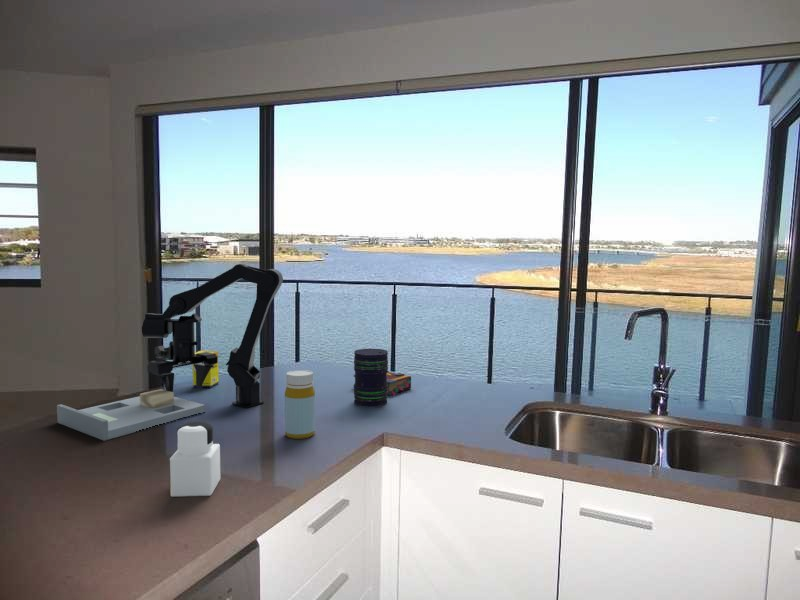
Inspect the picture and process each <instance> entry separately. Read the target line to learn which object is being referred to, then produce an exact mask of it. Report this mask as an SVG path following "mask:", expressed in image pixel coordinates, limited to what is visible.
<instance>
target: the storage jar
mask: <svg viewBox="0 0 800 600" xmlns="http://www.w3.org/2000/svg"><path fill="white" fill-rule="evenodd" d="M388 352H389V351H388V350H386V349H381V348H360V349H357V350H356V349H355V350H354V356H353V358H354V360H353V365H354V366H353V371H354V375H355V377H354V384H353V398H354V401H353V403H354V405H356V406H359V407H362V408H377V407H378V408H379V407H383V406H385V405H387V404H388V395H387V394H388V390H387V389H388V384H387V371H389V370H388V369H389V366H388V365H389V359H388V358H389V357H388V355H389V353H388Z"/></svg>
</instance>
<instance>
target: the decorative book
mask: <svg viewBox="0 0 800 600" xmlns="http://www.w3.org/2000/svg"><path fill="white" fill-rule="evenodd" d="M353 378H355V374H353ZM387 384H388V389H387V390H388V394H387V396H396V395H397V394H398V393H400V392H403V391H407V390H409V389H412V376H410V375H406V374H405V373H402V372H398V373H395V372H390V371H389V370H388V371H387Z"/></svg>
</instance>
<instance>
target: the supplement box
mask: <svg viewBox="0 0 800 600" xmlns="http://www.w3.org/2000/svg"><path fill="white" fill-rule="evenodd" d="M203 352H209V353H214V354H216V355H217V357H218V358H219V351H218V350H198V351H195V355H196V354H197V353H203ZM212 365H214V367H212V368H211V369H210V371H209V373H208V374H207V376H206V378H205V380H204V382H203V384H202V387H207V388H208V387H209V388H208V389H211V387H212V388H213V387H215V386H217V385H219V384H218V383H220V382H219V381H220V380H219V378H220V377H219V376H220V375H219V373H220V372H219V362H218V363H217V364H212ZM192 383H193V385H192V386H193V388H197V386H196V369H195V367H194V365H193V364H192ZM216 384H217V385H216ZM214 385H215V386H214ZM202 387H201V388H202ZM207 388H206V389H207Z"/></svg>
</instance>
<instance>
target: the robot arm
mask: <svg viewBox="0 0 800 600" xmlns="http://www.w3.org/2000/svg"><path fill="white" fill-rule="evenodd" d="M240 280H244V281H246V282H250V283H252V284H256V299H255V301H254V302H255V303H254V304H253V306H252V309H251V310H252V311H251V313H250V317H249V319H248V322H247V324H246V328H245V331H244V334H243V335H242V340H241V343H240V345H239V347H235V348H233V349H232V350H231V351H230V352H229V353H230V354H229V358H228V361H227V362H226V363H225V365H226V366H227V369H226V371H227V373H228V375H229V377H230V378H232V379H233V382H234V384H235V401H232V402H231V404H232V405H233V406H237V407H242V408H251V407H255V406H257V405H261V404H264V403H265V401H264V400H261V394H260V393H261V390H260V387H261V386H260V382H259V380H260V377H261V375H262V372H261V371H260V370H259V369H258V368H257V366H255V364H254V363H255V356H256V355H255V354H256V346H257V343H258V340H259V338H260V335H261V331H262V328H263V325H264V323H265V320H266V316H267V314H268V311H269V308H270V305H271V303H272V301H273V300H274V298H275V296H276V295H277V294H278V292H279V290H280V288H281V286H282V285H283V282H284V277H283V275H282V272H281V271H280V270H277V269H275V268H271V269H270V268H269V269H262V268H257V267H253V266H249V265H247V264H245V263H238V264H235V265H234V266H232V268H230V269H228V270H226V271H224V272H223V273H220V274H219V275H217V276H215V277H213V278H212V279H210V280H209V281H206V282H204V283H203V284H201V285H199V286H197V287H195V288H192V289H188V290H185V291H183V292H180V293H177V294H174V295H172V296H171V297H170V298H169V302H168V306H167V308H165V310H164V312H163V313H153V312H151V313H150V312H149V313H145V314H144V319H143V321H142V326H141V333H142V336H143V337H144V338H145V339H146V338H147V339H151V338H153V339H156V338H158V339H163V338H164V339H167V338H168V337H169V335H171V334H172V336H171V337H172V340H171V341H169V344H168V345H169V346H168V347H165V346H164V345H159V346H155V347H154V357H155V358H156V359H157V360H152V361H149V362H148V364H147V366H146V367H147V373H151V374H153V375H156V376H157V377H159V378H160V379H161V381H162V383H163V385H164V389H165V390H166V391H170V392H174V384H175V382H174V381H175V373H174V372H172V371H173V369H175V368H176V369H177V368H181V367H186V366H190V365H191V366H193V365H194V367H195V369H196V386H197V387H196V390H198V391H200V390H201V388H202V384H203V382H204V380H205V378H206V376H207V374H208V373H209V371H210V369H211V368H212V367H214V365H212V364H217V363H218V364H219V356H218V357H217V355H216V354H214V353H209V352H203V353H197V354H196V355H195V353H196V348H195V346H198V341H197V340H195V323H200V322H201V321H203V319H202V318H201V317H200V316H199V315H198V314H197V313H196V312H195V313H192V314H191V315H185V314H188V313H190V312H192V311H194V310H195V309H197V308H198V307H199V306H200V305H202V303H203V302H204V301H206V300H207V299H208V298H210V297H211V296H213V295H215V294H216V293H219V292H220V291H222V290H224V289H225V288H228V287H229V286H231V285H233V284H234V283H237V282H239V281H240ZM177 316H179V317H178V318H174V317H177Z"/></svg>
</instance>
